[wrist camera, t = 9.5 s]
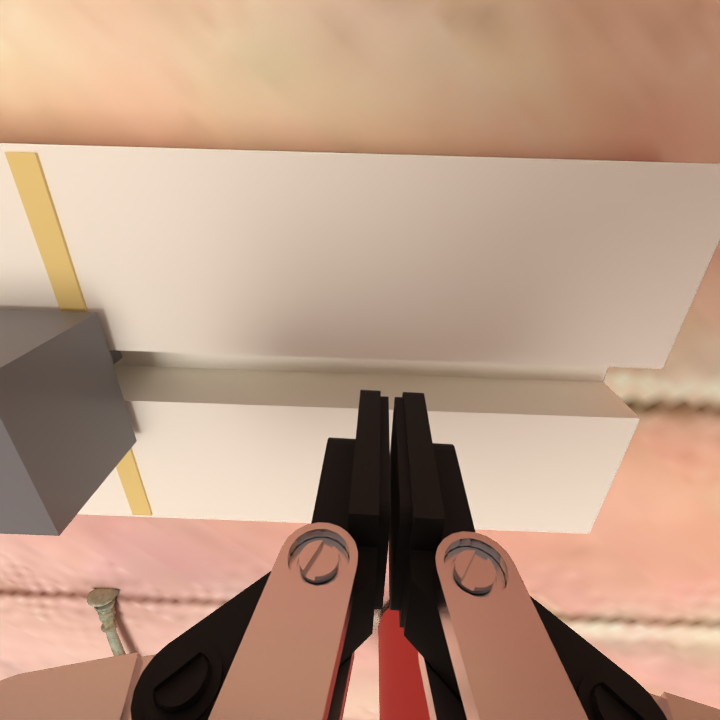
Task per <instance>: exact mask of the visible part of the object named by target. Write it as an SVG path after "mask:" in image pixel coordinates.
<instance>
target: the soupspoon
mask: <svg viewBox="0 0 720 720" xmlns="http://www.w3.org/2000/svg"><path fill="white" fill-rule="evenodd" d="M118 594H119V590H117V589H106V588H96V589H94V590H93V591H91V592H90V593H89V594H88V596H87V603H88V604H89V605H90V606H94V608H95V609H96V611H98V615H99V619H100V621H101V622H102V623H103V624H102V626H101V630H102V631H103V632H106V635H107V638H108V641H109V644H110V646H111V649H112V652H113V655H114V656H119V655H125V654H126V653H125V651H124V649H123V646H122V643H121V641H120V639H119V636H118V634H117V631H116V627H117V625H118V621H117V620H116V619H114V617H115V614H116V611H115V609H114V608H115V607H114V604H115V601H116V600H115V597H116V596H117V595H118Z"/></svg>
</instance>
